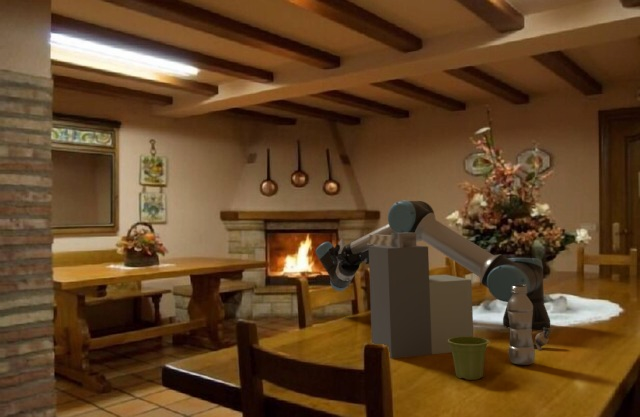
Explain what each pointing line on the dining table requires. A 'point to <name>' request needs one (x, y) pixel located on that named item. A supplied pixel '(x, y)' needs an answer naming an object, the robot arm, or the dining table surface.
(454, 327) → the pedestal
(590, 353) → the dining table surface
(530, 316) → the plastic bottle
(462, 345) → the plant pot
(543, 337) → the vase
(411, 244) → the batten
